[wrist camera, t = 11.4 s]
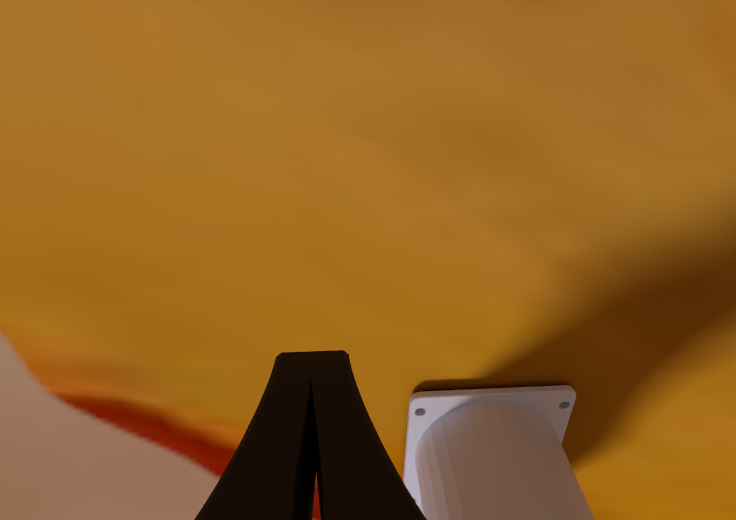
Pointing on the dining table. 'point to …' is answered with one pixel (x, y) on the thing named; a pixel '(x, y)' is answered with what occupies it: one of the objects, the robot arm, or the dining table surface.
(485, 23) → the dining table surface
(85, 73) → the dining table surface
